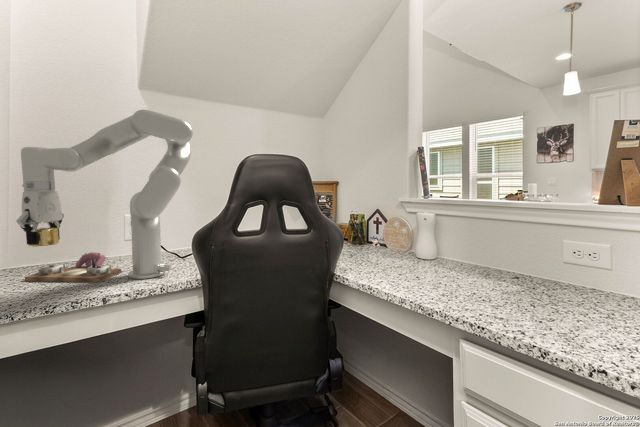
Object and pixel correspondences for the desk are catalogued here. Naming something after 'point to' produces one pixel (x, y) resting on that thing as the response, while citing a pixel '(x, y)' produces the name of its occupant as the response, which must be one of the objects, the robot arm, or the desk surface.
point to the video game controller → (90, 259)
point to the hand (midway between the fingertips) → (44, 241)
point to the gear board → (74, 273)
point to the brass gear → (47, 236)
